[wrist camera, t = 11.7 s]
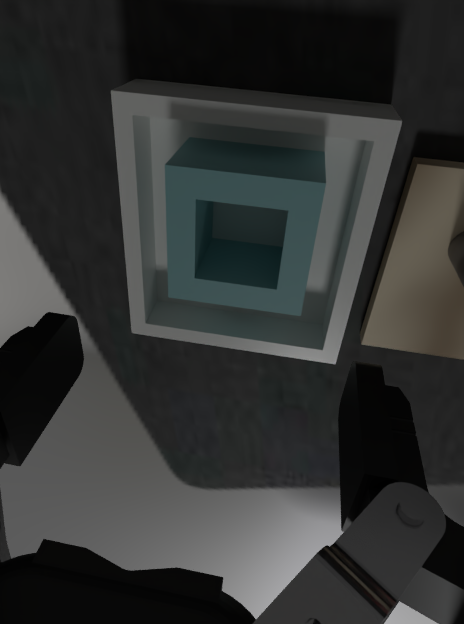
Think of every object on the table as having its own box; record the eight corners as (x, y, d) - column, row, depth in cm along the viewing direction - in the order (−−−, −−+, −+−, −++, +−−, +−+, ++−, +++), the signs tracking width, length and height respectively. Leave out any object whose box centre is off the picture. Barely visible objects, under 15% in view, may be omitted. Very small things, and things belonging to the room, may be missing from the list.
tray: (391, 104, 19) (402, 120, 16) (333, 329, 26) (335, 364, 23) (136, 78, 19) (110, 90, 17) (148, 302, 27) (131, 333, 24)
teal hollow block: (324, 151, 19) (326, 183, 16) (297, 302, 24) (294, 350, 21) (189, 137, 20) (164, 164, 17) (188, 287, 25) (169, 331, 21)
